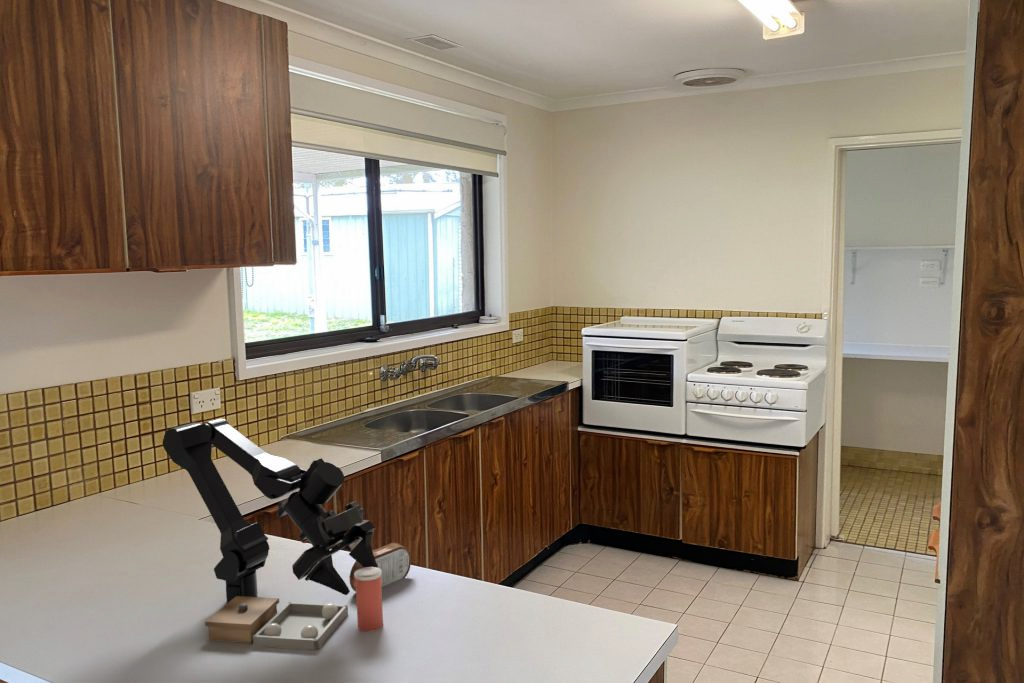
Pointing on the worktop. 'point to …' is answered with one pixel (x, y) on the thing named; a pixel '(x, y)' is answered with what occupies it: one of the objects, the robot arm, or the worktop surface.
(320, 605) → the tray
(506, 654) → the worktop surface
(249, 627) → the lidded box
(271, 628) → the shiny white sphere
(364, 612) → the scoop cup
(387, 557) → the tin
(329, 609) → the pebble
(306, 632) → the white glossy ball
